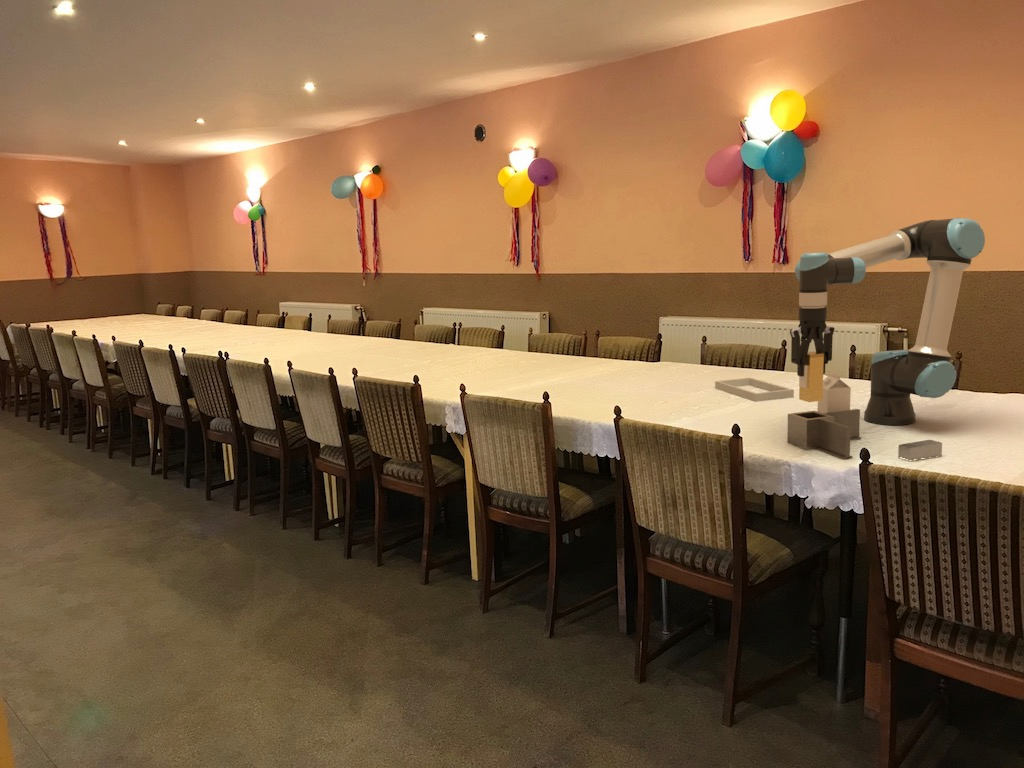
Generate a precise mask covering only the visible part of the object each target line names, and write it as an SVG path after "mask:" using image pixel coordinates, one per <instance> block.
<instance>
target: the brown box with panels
mask: <svg viewBox="0 0 1024 768" xmlns="http://www.w3.org/2000/svg"><path fill="white" fill-rule="evenodd" d="M860 419H861V409H858V408H855V409H854V408H853V409H850V410H845V411H837V412H829V413H820V412H818V410H817V411H816V410H808V411H800V412H793V413H787V444H789V445H792V446H795V447H797V448H799V449H802V450H805V451H811V450H818V451H820V452H823V453H825V454H828V455H830V456H834V457H836V458H838V459H841V460H842V461H843V460H849V459H850V460H851V459H853V457H854V456H853V455H851V442H852V441H859V440H862V436H860V423H861V422H860Z"/></svg>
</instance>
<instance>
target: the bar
mask: <svg viewBox="0 0 1024 768" xmlns="http://www.w3.org/2000/svg"><path fill="white" fill-rule="evenodd" d="M897 453H898V455H897V456H898V457H902V458H905V459H908V460H914V459H921V458H928V459H930V458H929V457H933V458H937V457H936V456H939V457H942V455H943V454H942V453H943V442H941V441H937V440H933V439H925V440H920V441H914V442H908V443H907V442H906V443H901V444H898V451H897ZM898 457H897V458H898Z"/></svg>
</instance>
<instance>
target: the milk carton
mask: <svg viewBox="0 0 1024 768" xmlns="http://www.w3.org/2000/svg"><path fill="white" fill-rule="evenodd" d="M851 391H852V389H851V387H850V386H849V385H848V384H847V383H845V382H844V381H843V380H842V379H841V375H839V374H837V373H834V372H831V371H829V372H828V376H826V377H825V378H823V401H817V412H820V413H829V412H837V411H845V410H851V394H852V393H851Z"/></svg>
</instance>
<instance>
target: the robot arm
mask: <svg viewBox="0 0 1024 768" xmlns="http://www.w3.org/2000/svg"><path fill="white" fill-rule="evenodd" d="M985 237H986V235H985V232H984V230H983V228H982V227H981V225H980V224H979V222H977V221H976V220H974V219H973V218H972V219H971V218H961V217H955V218H947V219H945V218H943V219H930V220H924V221H921V222H917V223H914V224H912V225H909V226H905V227H903V228H899V229H896V230H893V231H891V232H890V234H889V235H888V236H884V237H881V238H877V239H874V240H873V239H872V240H870V241H866V242H863V243H861V244H855V245H854V246H850V247H847V248H843V249H840V250H836V251H833V252H829V253H828V252H807V253H802V254H801V256H800V257H799V261H798V262H797V263H796V265H795V269H794V274H795V276H796V279H798V281H799V283H798V284H799V285H798V286H799V289H798V290H799V293H798V295H799V296H798V297H799V298H798V305H799V308H798V320H799V324H798V327H797V328H795V329H790V331H789V334H790V337H791V342H790V343H791V344H790V345H791V347H790V348H791V350H790V351H791V352H790V354H791V355H790V357H791V359H790V361H791V363H792V364H794V365H797V372H796V374H797V376H798V377H799V378H798V379H799V380H798V382H799V384H798V387H799V386H800V387H804V388H807V368H808V366H807V365H805V363H806V358H807V354H808V352H809V349H810V344H811V343H812V341H813V343H814V348H815V352H819V353H824V364H823V375H825V374H826V365H827V364H829V362H830V361H832V360H833V338H834V337H833V335H834V332H835V327H833V326H828V325H827V323H826V320H827V317H828V316H827V315H828V311H827V310H828V308H827V307H826V306H827V305H828V286H831V285H852V284H857V283H861V282H862V281H863V280H864V278H865V277H866V271H867V268H869V267H872V266H877V265H880V264H883V263H887V262H889V261H890V262H891V261H892V260H897V261H904V260H908V259H918V258H919V259H922V258H923V259H927V260H926V263H927V265H928V266H929V267H930V268H929V269H930V272H929V276H928V280H927V287H926V291H925V296H924V301H923V305H922V310H921V317H920V320H919V323H918V324H919V326H918V331H917V335H916V339H915V345H913V347H911V348H910V349H898V350H896V349H895V350H885V351H877V352H875V353H873V354H872V357H871V363H870V396H869V399H868V403H867V405H866V408H865V410H864V412H863V419H864V421H866V422H869V423H872V424H877V425H885V426H886V425H887V426H904V425H905V426H906V425H910V424H914V423H916V417H917V416H916V412H915V411H914V405H913V403H912V399H911V395H914V396H915V395H916V396H918V397H920V398H929V399H936V398H941V397H943V396H944V395H946V394H947V393H949V392H950V391H951V389H952V388H953V387H954V385H955V382H956V381H957V370H956V369H955V366H954V365H953V364H952V363H951V358H952V355H951V354H950V352H949V351H948V345H949V340H950V335H951V331H952V325H953V321H954V317H955V312H956V308H957V301H958V297H959V292H960V289H961V288H960V287H961V284H962V278H963V273H964V271H965V270H966V269H968V268H970V267H971V265H972V264H971V263H972V259H973V258H976V257H978V256H979V255H980V254H981V253H982V252H983V250H984V247H985V243H986V238H985Z"/></svg>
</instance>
